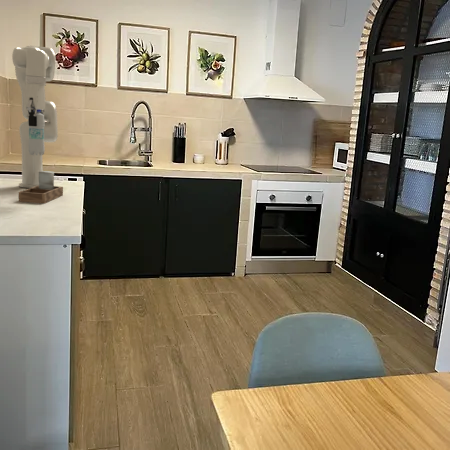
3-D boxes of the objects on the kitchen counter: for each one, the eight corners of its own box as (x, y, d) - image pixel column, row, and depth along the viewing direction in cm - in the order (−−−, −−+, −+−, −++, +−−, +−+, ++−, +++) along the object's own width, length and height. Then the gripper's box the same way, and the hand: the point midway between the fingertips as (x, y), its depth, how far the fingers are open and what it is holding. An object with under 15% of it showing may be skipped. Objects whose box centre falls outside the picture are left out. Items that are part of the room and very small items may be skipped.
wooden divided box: (39, 193, 232) (39, 169, 229) (62, 195, 232) (62, 171, 229) (18, 201, 210) (18, 175, 208) (44, 203, 210) (44, 177, 208)
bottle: (48, 155, 213) (48, 107, 209) (36, 156, 207) (36, 106, 203) (36, 153, 216) (36, 106, 212) (24, 154, 210) (23, 105, 206)
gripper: (35, 82, 214) (35, 124, 218) (17, 79, 197) (18, 125, 201) (52, 83, 214) (53, 126, 218) (36, 80, 197) (37, 127, 201)
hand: (36, 125), depth 209 cm, fingers closed on bottle, 6 cm apart
